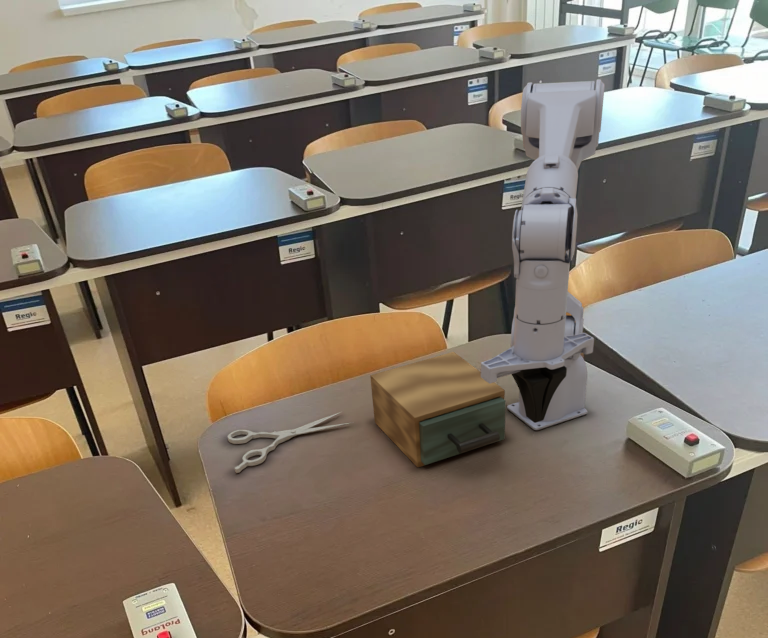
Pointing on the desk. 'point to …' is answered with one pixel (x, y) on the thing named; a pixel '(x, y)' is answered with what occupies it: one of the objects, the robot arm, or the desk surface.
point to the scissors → (280, 438)
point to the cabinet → (425, 396)
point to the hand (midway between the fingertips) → (534, 418)
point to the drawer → (462, 430)
